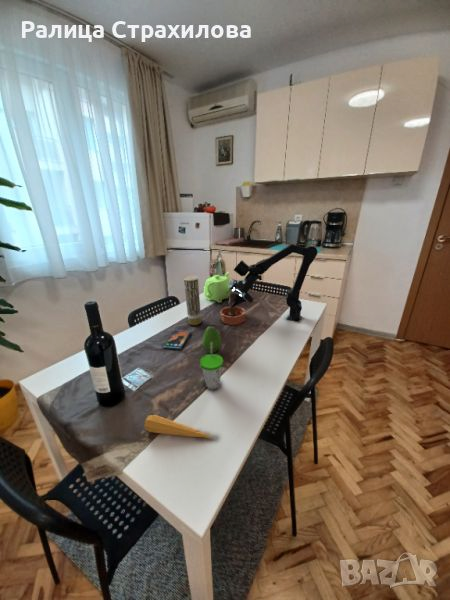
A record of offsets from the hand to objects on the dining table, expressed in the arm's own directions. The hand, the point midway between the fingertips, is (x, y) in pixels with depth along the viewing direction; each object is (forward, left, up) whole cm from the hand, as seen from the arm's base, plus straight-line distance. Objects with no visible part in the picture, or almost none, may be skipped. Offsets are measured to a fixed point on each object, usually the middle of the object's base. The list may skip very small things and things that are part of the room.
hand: (230, 305), depth 125 cm
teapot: (-23, -22, -9) cm, 33 cm away
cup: (+44, +23, -9) cm, 50 cm away
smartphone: (+30, -9, -9) cm, 32 cm away
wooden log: (+13, -14, -9) cm, 21 cm away
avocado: (+28, +10, -9) cm, 31 cm away
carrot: (+64, +27, -9) cm, 70 cm away
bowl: (-1, +1, -9) cm, 9 cm away
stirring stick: (-1, +1, -7) cm, 7 cm away
